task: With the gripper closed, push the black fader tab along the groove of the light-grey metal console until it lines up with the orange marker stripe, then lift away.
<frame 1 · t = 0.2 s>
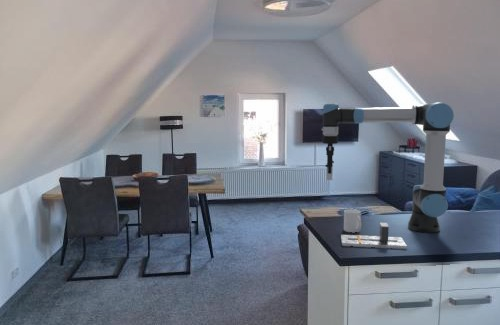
hand: (329, 177, 208), 28 cm above the table, fingers open, 13 cm apart
mug: (353, 232, 212), on the table
fader console: (372, 243, 193), on the table
fader tab: (383, 231, 192), point 6 cm above the table, slide at -5.0 cm
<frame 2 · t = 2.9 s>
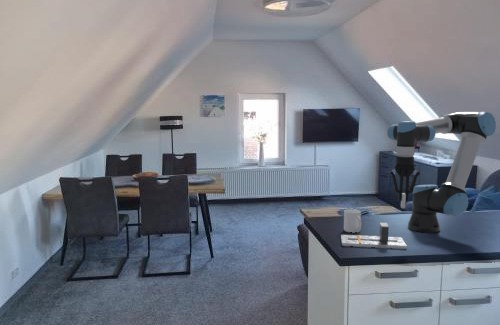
hand: (402, 207, 189), 17 cm above the table, fingers closed
nothing on the table moved.
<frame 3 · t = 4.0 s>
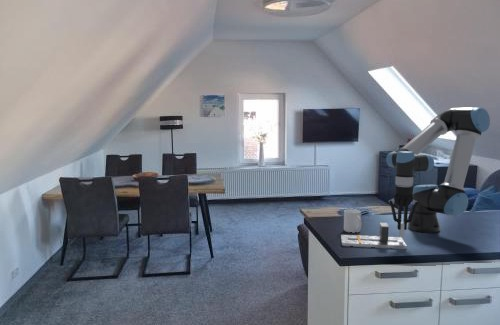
hand: (401, 236, 190), 4 cm above the table, fingers closed
nothing on the table moved.
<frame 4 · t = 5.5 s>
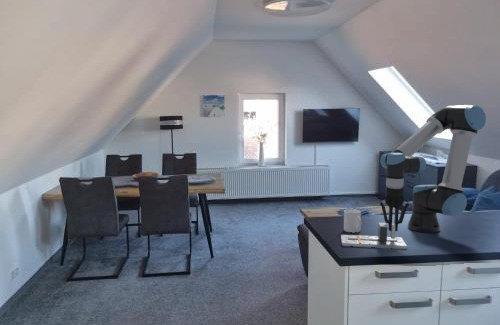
hand: (392, 237, 191), 3 cm above the table, fingers closed
fader tab: (382, 231, 192), point 6 cm above the table, slide at -4.4 cm, touching gripper
everything else where it was.
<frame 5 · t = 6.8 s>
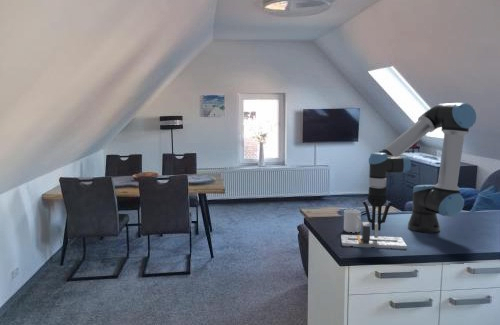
hand: (375, 237, 192), 3 cm above the table, fingers closed
fader tab: (365, 231, 193), point 6 cm above the table, slide at 3.1 cm, touching gripper
everything else where it was.
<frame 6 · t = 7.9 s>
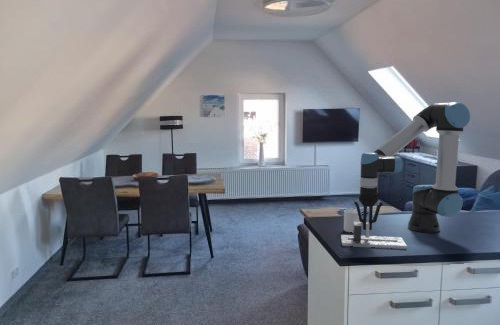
hand: (367, 236, 193), 3 cm above the table, fingers closed
fader tab: (357, 230, 194), point 6 cm above the table, slide at 6.9 cm, touching gripper
everything else where it was.
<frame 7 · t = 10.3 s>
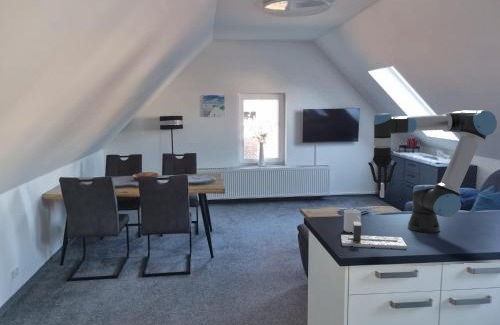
hand: (381, 197, 196), 21 cm above the table, fingers closed
fader tab: (356, 230, 194), point 6 cm above the table, slide at 7.1 cm
everything else where it was.
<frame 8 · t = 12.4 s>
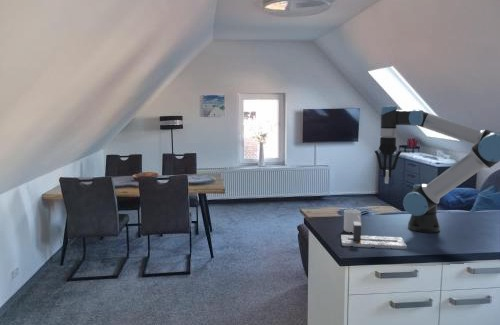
hand: (386, 183, 212), 24 cm above the table, fingers closed
nothing on the table moved.
at the end: fader tab slide at 7.1 cm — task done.
